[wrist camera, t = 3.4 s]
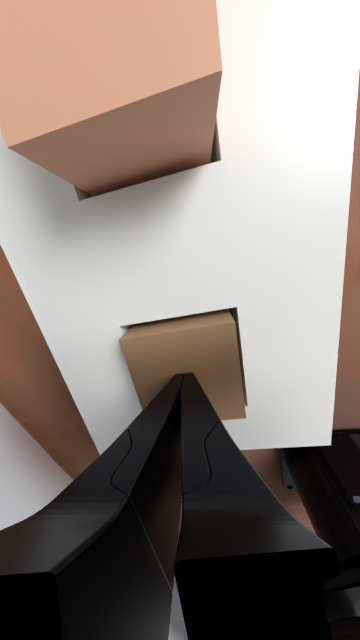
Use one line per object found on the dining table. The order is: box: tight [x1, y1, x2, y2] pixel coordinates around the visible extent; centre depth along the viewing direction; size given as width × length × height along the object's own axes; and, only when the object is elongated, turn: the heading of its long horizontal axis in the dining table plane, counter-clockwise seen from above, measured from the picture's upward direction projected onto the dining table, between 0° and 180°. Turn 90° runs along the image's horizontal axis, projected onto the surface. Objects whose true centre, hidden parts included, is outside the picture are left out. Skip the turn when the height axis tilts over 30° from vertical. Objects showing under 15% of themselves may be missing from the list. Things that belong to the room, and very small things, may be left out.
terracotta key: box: [0, 0, 222, 197], centre depth 5 cm, size 5×5×4 cm
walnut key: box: [119, 309, 246, 420], centre depth 10 cm, size 5×5×4 cm
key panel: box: [0, 0, 360, 455], centre depth 10 cm, size 23×14×4 cm, turn 11°
